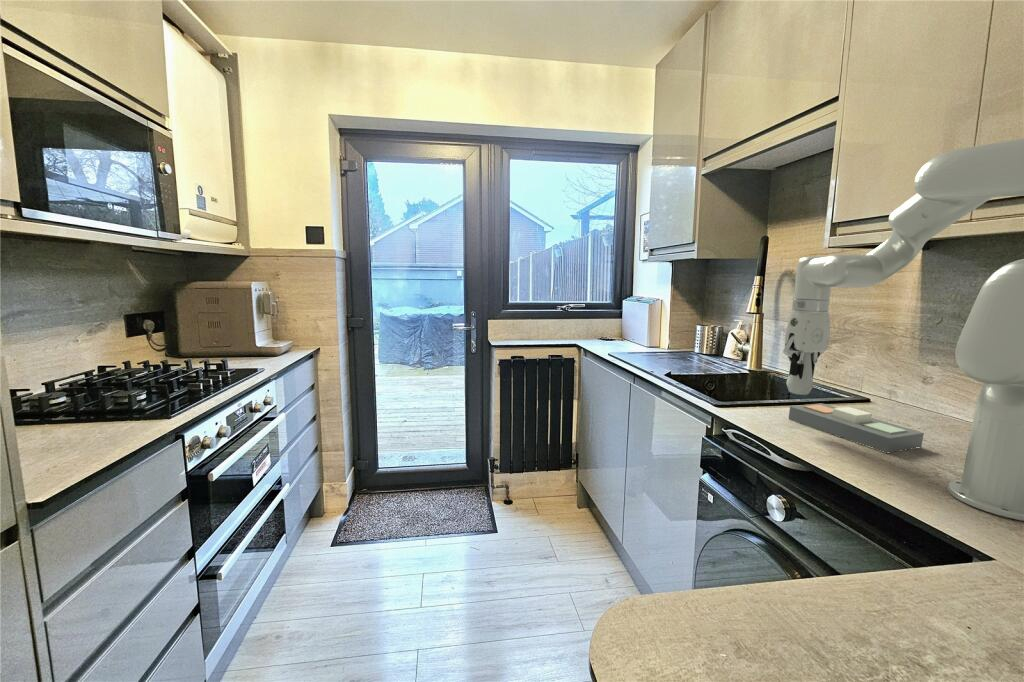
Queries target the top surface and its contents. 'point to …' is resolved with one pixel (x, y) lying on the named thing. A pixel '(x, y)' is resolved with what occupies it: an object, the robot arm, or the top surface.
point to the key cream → (852, 415)
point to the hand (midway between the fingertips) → (800, 377)
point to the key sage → (885, 428)
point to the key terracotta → (820, 409)
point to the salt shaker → (806, 381)
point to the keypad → (857, 430)
